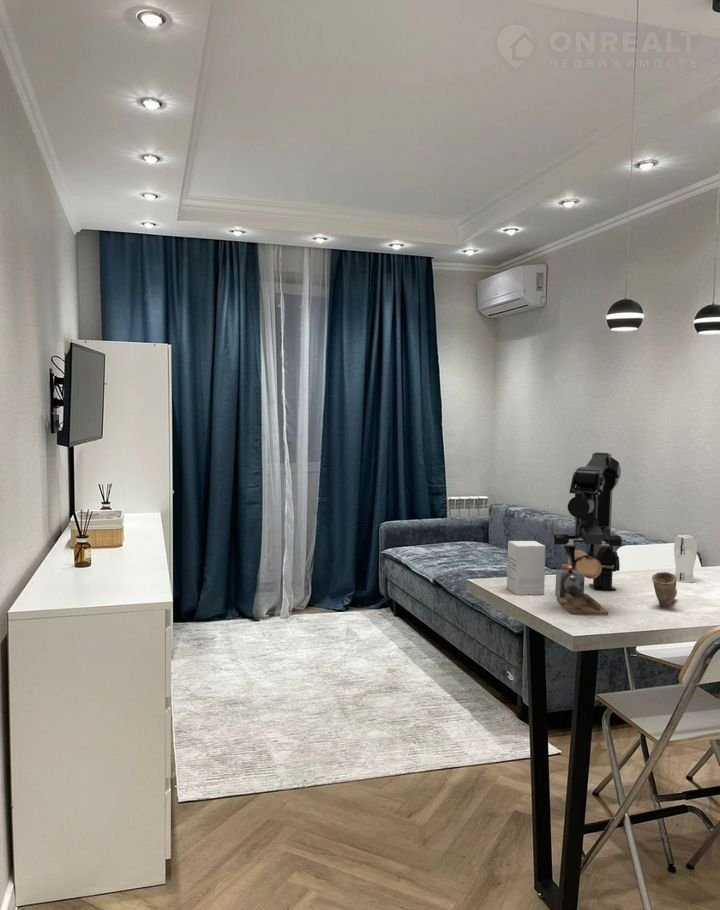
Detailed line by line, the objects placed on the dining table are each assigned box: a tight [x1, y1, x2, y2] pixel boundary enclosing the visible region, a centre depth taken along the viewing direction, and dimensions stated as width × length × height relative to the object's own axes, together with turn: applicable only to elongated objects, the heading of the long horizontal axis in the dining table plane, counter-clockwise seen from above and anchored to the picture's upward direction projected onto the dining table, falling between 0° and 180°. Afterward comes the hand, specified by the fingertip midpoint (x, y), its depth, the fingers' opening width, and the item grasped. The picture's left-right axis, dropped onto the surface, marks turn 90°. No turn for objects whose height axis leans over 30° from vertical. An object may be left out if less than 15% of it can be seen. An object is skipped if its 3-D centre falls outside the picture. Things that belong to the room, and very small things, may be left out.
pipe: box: [651, 571, 678, 608], centre depth 201 cm, size 6×17×10 cm, turn 145°
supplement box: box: [506, 540, 546, 596], centre depth 212 cm, size 9×9×15 cm
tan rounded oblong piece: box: [567, 549, 602, 580], centre depth 194 cm, size 12×6×6 cm, turn 0°
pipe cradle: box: [556, 593, 609, 616], centre depth 195 cm, size 14×10×3 cm
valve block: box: [554, 563, 586, 598], centre depth 206 cm, size 7×7×9 cm
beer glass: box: [673, 534, 698, 584], centre depth 233 cm, size 7×7×15 cm
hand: (583, 569), depth 194 cm, fingers closed on tan rounded oblong piece, 6 cm apart
